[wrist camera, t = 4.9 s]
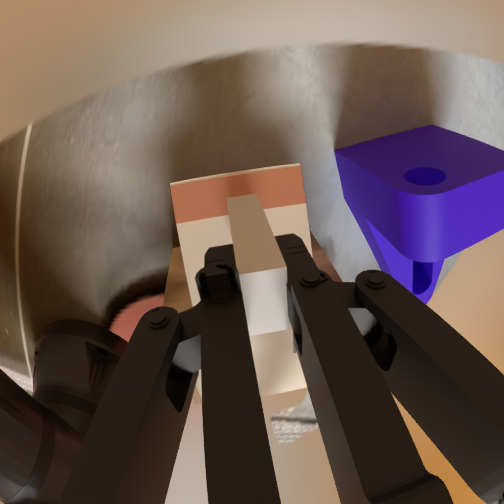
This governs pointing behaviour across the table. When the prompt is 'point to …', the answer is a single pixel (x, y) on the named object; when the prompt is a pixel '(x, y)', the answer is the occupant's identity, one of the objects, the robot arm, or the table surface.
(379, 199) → the bracket
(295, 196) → the cream and orange panel
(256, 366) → the clamp block
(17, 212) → the table surface
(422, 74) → the table surface
